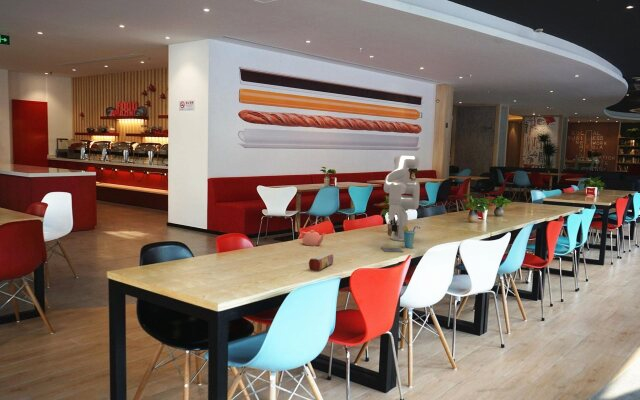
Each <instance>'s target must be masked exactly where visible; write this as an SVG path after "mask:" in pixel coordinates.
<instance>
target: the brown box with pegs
mask: <svg viewBox="0 0 640 400" xmlns="http://www.w3.org/2000/svg"><path fill="white" fill-rule="evenodd" d="M392 225H393V224H390V223H387V236H389V237H392V232H393V231H392ZM398 229H399V225H397V232H394V235H396V236H398Z"/></svg>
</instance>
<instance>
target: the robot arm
mask: <svg viewBox="0 0 640 400" xmlns="http://www.w3.org/2000/svg"><path fill="white" fill-rule="evenodd" d="M393 164H394V168H393V170H392V171H391V172H389V173H388V174H387V175H386V177H385V179H384V184H383V191H384V192H385V193H386V194H389V195H388V207H389V208H388V217H387V218H388V220H389V224H393V225H392V231H391V232H392V236H390V240H393V241H400V242H404V232H403V226H405V225H406V226H407V227H408V217H409V216H408V213H407V212H406V210H412V211H413V210H417V209H418V208H419V205H420V190H421V189H420V187H421V186H420V182H419V181H418V180H410V175H411V174H410V171H409V169H418V168H419V166H420V158H419V157H418V156H417V155H411V154H410V155H405V154H400V155H395V156H394V158H393ZM404 194H406V195H404ZM407 194H408V195H407ZM397 225H399V229H398V236H396V235H394V232H397Z"/></svg>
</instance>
